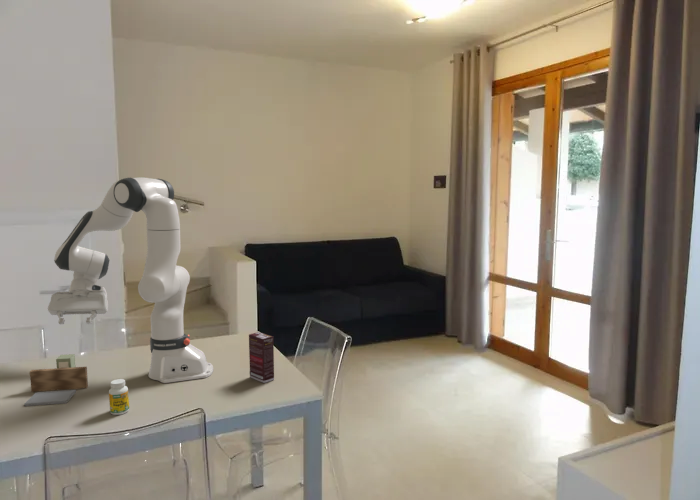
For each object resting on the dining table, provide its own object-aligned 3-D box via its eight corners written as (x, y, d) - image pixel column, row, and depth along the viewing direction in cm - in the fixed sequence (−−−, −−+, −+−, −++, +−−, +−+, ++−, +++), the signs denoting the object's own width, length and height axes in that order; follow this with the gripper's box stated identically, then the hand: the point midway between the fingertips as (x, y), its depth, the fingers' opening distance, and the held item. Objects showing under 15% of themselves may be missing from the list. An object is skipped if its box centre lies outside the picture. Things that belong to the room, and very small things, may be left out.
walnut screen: (88, 386, 175) (86, 366, 174) (86, 388, 174) (85, 368, 173) (33, 390, 172) (31, 369, 171) (31, 391, 171) (29, 371, 170)
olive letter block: (76, 378, 182) (74, 354, 181) (71, 383, 178) (70, 358, 177) (62, 379, 181) (60, 354, 180) (57, 384, 177) (55, 359, 176)
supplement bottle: (127, 406, 160) (125, 376, 158) (131, 412, 155) (129, 382, 154) (108, 410, 157) (106, 380, 155) (111, 417, 152) (109, 386, 151)
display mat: (75, 391, 171) (75, 389, 170) (66, 403, 162) (66, 400, 162) (36, 394, 168) (36, 392, 168) (24, 406, 160) (24, 403, 159)
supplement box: (275, 379, 181) (274, 336, 179) (264, 383, 178) (263, 339, 176) (260, 373, 187) (259, 331, 185) (249, 377, 184) (248, 334, 182)
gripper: (50, 287, 193) (41, 319, 185) (108, 286, 197) (102, 318, 189) (55, 296, 198) (46, 328, 190) (111, 295, 202) (106, 326, 194)
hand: (74, 323), depth 190 cm, fingers open, 8 cm apart
